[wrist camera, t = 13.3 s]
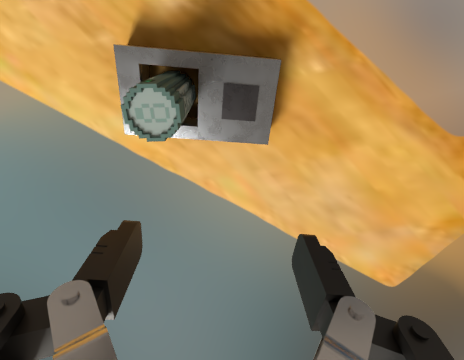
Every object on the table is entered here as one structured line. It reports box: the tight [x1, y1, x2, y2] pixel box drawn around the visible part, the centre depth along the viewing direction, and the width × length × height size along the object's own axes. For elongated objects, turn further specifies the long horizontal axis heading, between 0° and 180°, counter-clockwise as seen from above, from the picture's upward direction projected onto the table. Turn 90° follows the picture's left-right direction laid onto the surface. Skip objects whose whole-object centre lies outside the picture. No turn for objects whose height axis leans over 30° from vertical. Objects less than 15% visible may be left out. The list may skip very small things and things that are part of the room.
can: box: [121, 71, 196, 142], centre depth 33 cm, size 6×6×15 cm
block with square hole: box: [114, 45, 281, 145], centre depth 38 cm, size 12×22×5 cm, turn 85°
